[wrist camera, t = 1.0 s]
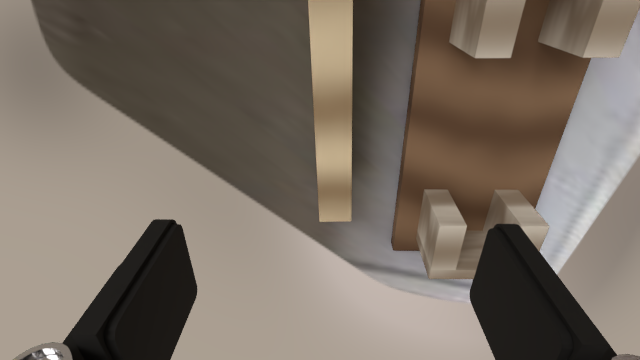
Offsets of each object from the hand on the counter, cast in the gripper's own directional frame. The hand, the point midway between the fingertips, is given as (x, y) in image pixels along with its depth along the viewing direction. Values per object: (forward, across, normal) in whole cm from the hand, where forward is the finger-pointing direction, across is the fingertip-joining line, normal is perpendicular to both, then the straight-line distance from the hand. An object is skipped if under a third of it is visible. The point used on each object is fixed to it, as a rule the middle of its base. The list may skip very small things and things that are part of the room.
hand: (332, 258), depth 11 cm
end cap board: (+19, -12, +2) cm, 23 cm away
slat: (+19, 0, -1) cm, 19 cm away
